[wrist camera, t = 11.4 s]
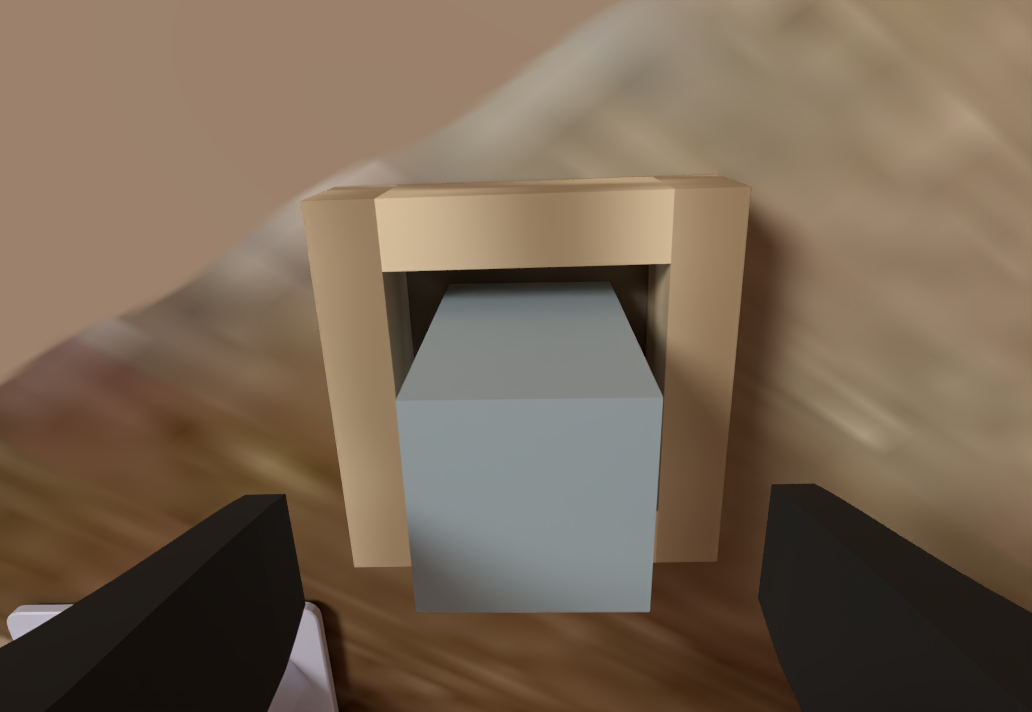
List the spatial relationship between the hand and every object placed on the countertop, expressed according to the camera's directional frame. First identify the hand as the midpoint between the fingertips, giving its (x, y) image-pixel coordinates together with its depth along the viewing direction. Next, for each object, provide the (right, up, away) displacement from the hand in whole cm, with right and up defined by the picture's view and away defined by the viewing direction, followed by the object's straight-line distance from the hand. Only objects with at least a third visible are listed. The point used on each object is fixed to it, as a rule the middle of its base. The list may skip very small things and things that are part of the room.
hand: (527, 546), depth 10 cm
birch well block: (0, +3, +7) cm, 8 cm away
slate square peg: (0, +3, +7) cm, 8 cm away
